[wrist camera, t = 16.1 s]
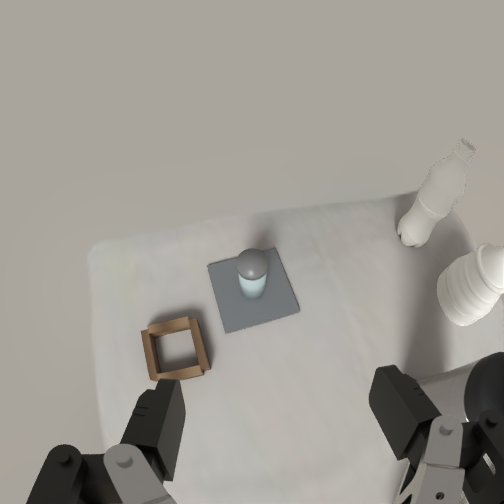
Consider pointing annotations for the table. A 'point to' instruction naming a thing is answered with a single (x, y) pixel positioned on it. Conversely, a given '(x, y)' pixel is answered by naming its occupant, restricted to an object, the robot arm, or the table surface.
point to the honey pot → (472, 284)
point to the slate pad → (251, 310)
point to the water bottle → (436, 196)
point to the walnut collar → (169, 328)
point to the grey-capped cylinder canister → (252, 273)
